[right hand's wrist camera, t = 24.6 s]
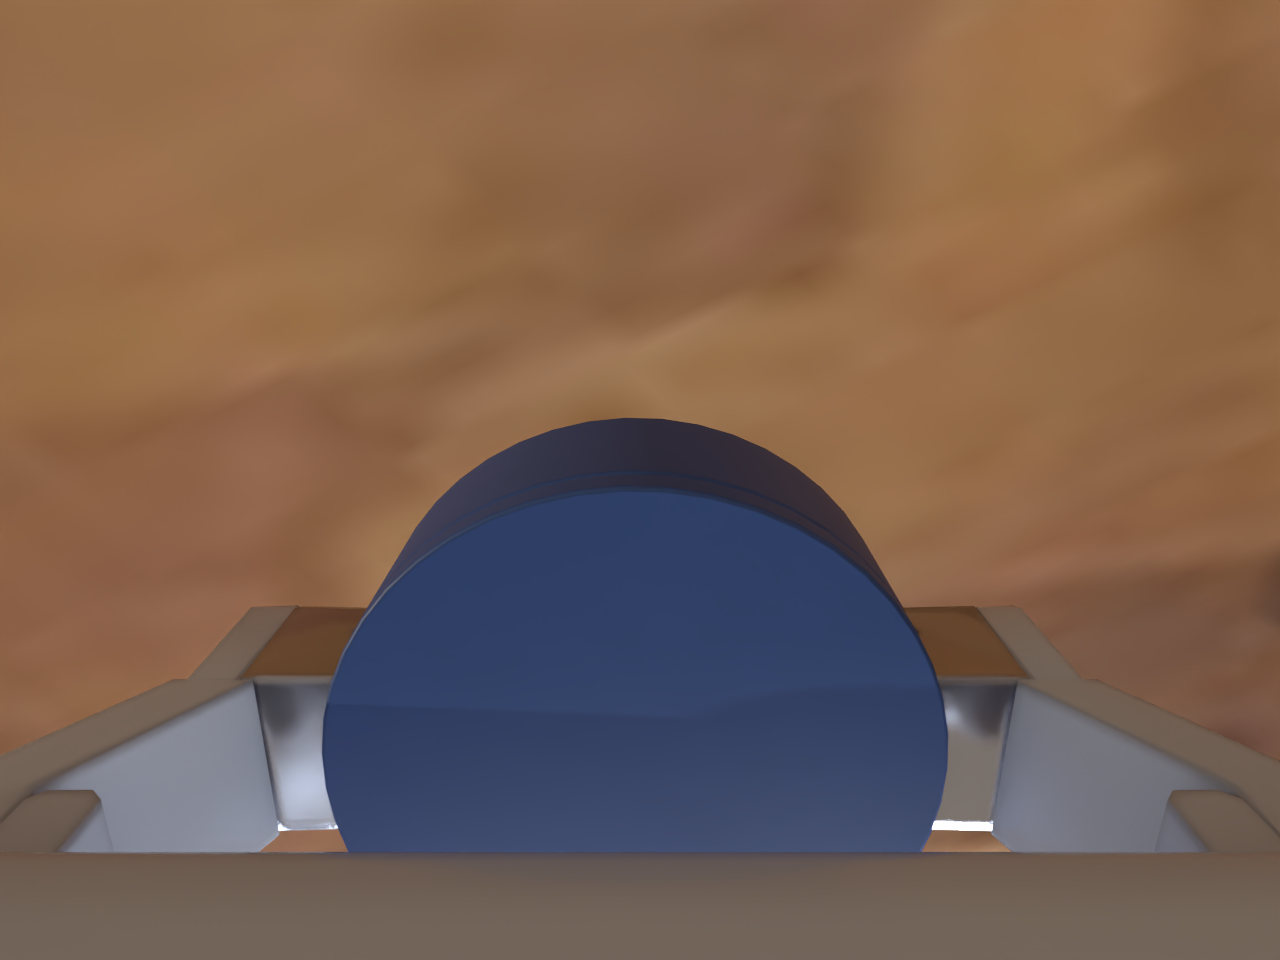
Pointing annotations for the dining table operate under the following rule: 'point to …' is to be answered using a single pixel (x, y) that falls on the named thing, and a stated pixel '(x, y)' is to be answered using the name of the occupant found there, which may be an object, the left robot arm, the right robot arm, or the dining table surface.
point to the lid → (635, 663)
